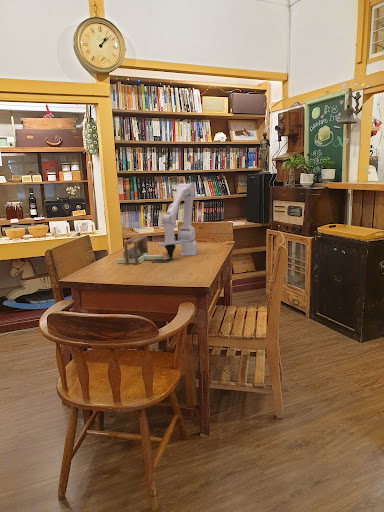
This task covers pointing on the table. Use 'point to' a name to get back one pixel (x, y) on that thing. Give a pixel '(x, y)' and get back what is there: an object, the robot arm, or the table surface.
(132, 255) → the ceramic mug
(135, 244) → the arch
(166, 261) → the pit
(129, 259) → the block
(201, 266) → the table surface
